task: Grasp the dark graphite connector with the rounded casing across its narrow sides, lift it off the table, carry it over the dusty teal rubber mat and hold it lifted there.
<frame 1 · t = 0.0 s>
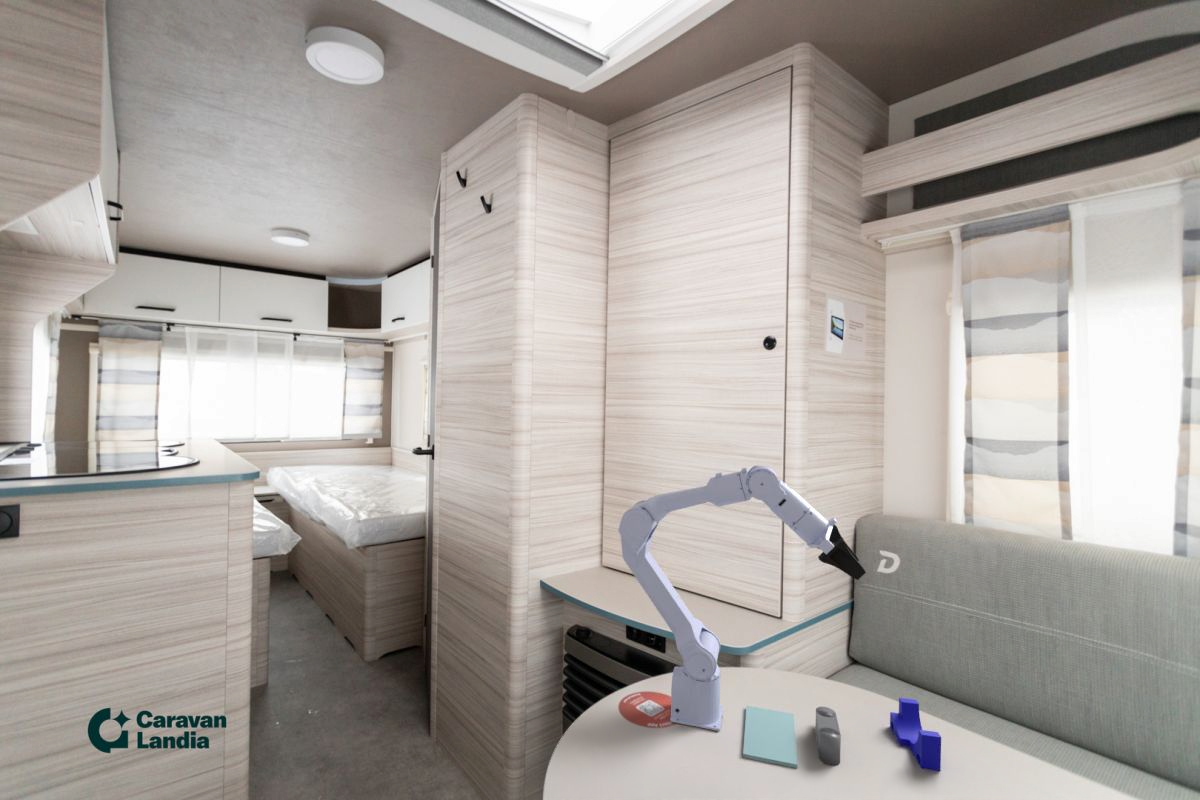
hand: (858, 569, 101), 32 cm above the table, tool tilted 50°, fingers open, 7 cm apart
rubber mat: (769, 735, 103), on the table
cable clip: (913, 749, 101), on the table
connector: (827, 746, 100), on the table
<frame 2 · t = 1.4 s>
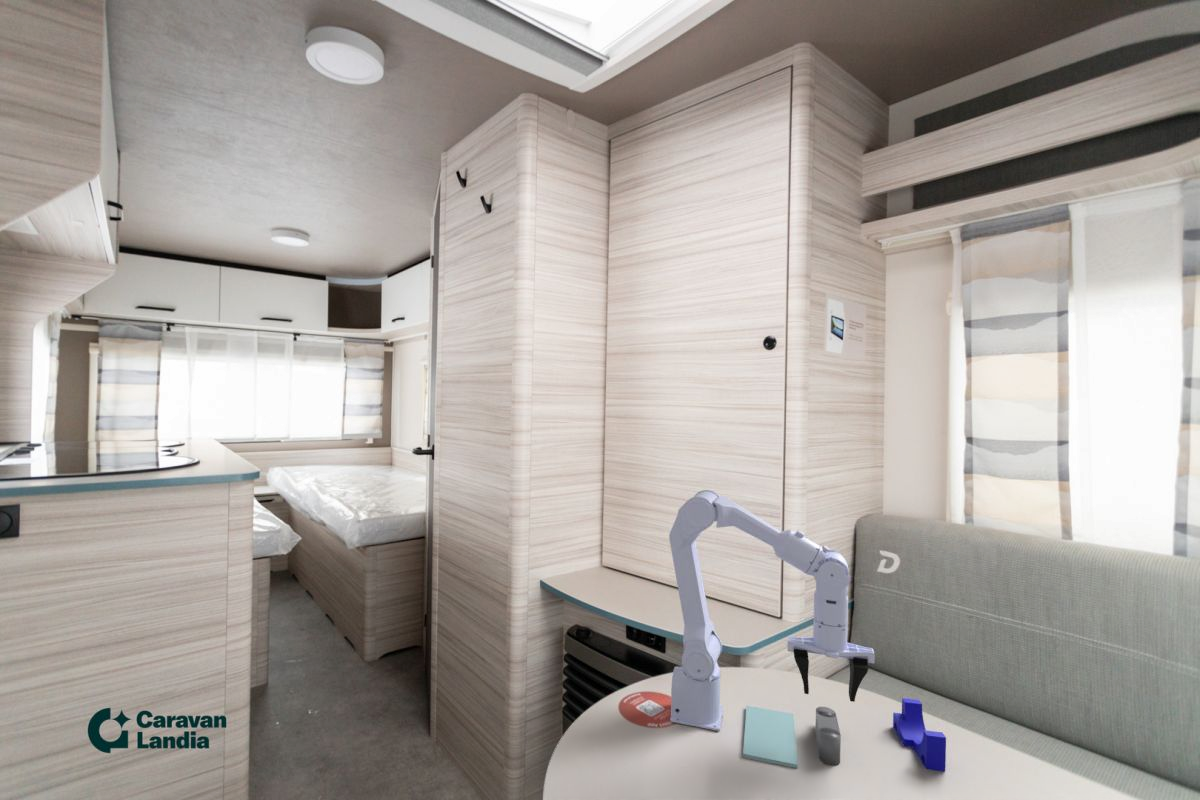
hand: (828, 694, 100), 9 cm above the table, tool pointing down, fingers open, 7 cm apart
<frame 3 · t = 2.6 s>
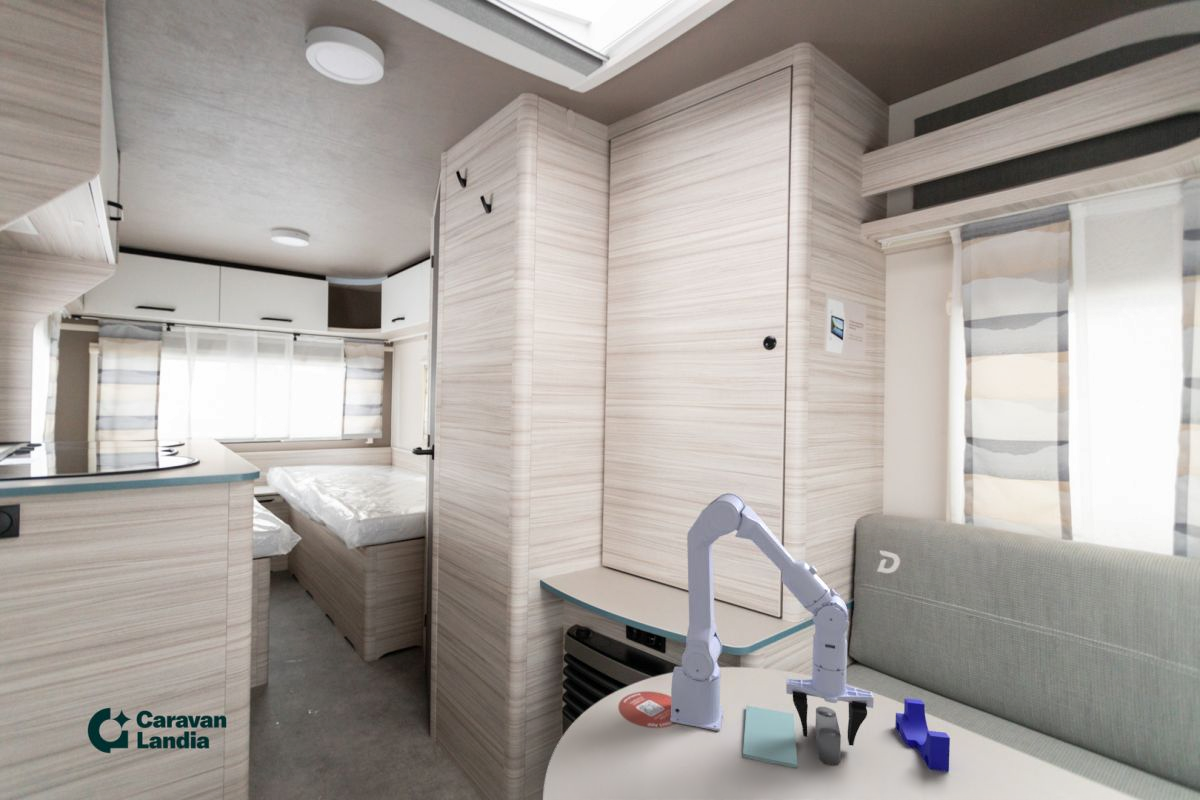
hand: (827, 737, 100), 2 cm above the table, tool pointing down, fingers open, 7 cm apart
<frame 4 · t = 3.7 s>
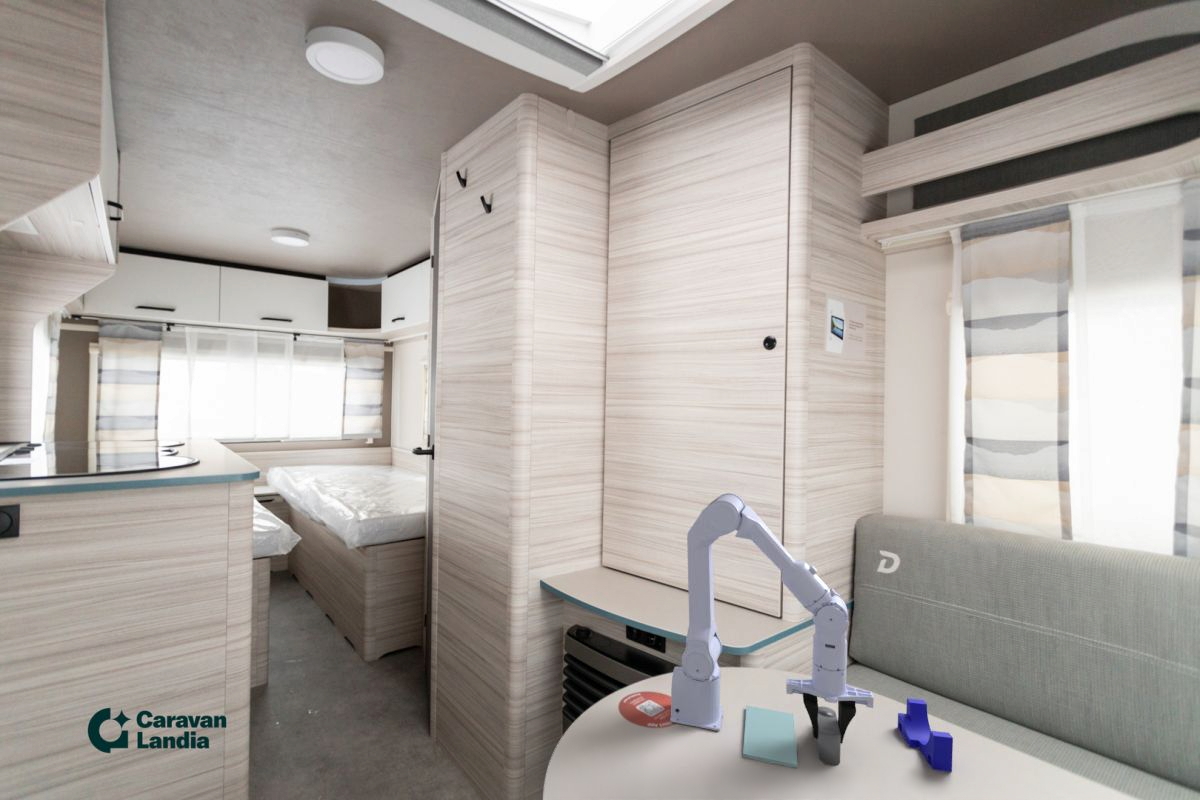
hand: (827, 737, 100), 2 cm above the table, tool pointing down, fingers closed on connector, 3 cm apart
connector: (827, 746, 100), on the table, touching gripper
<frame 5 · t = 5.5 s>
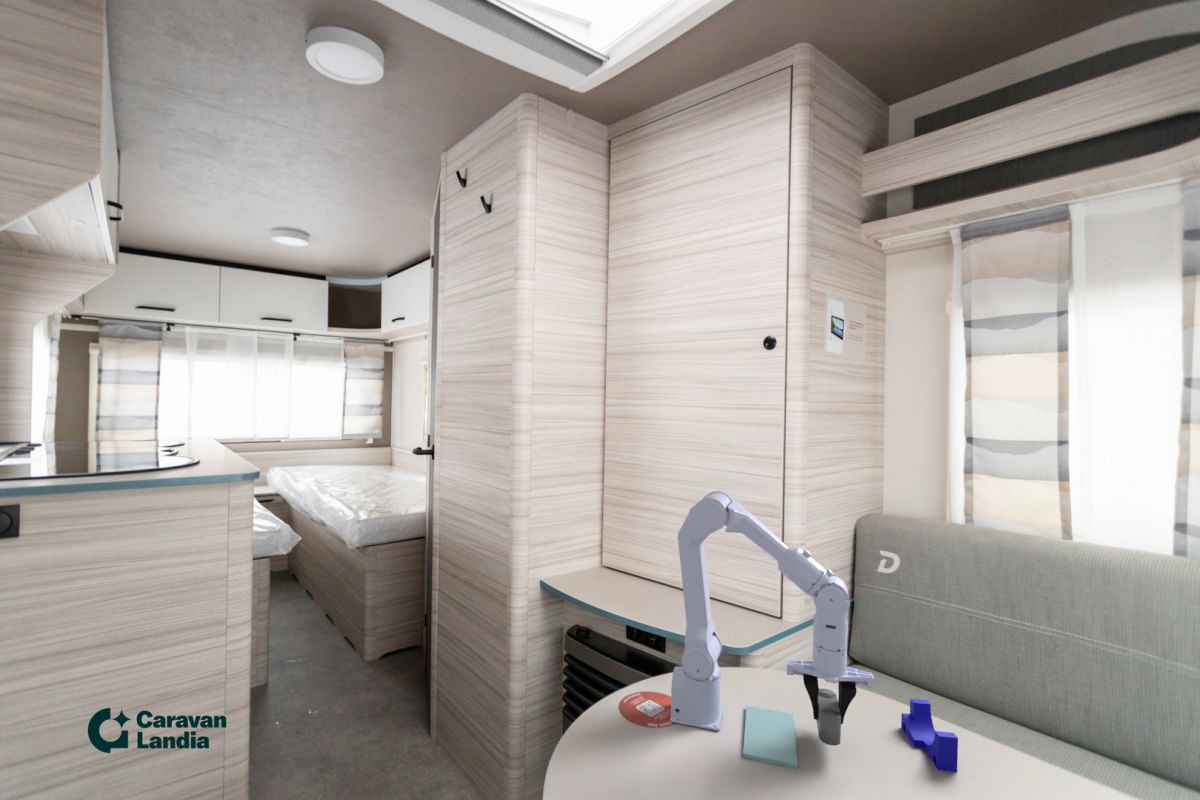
hand: (827, 718, 100), 5 cm above the table, tool pointing down, fingers closed on connector, 3 cm apart
connector: (827, 727, 100), point 3 cm above the table, touching gripper
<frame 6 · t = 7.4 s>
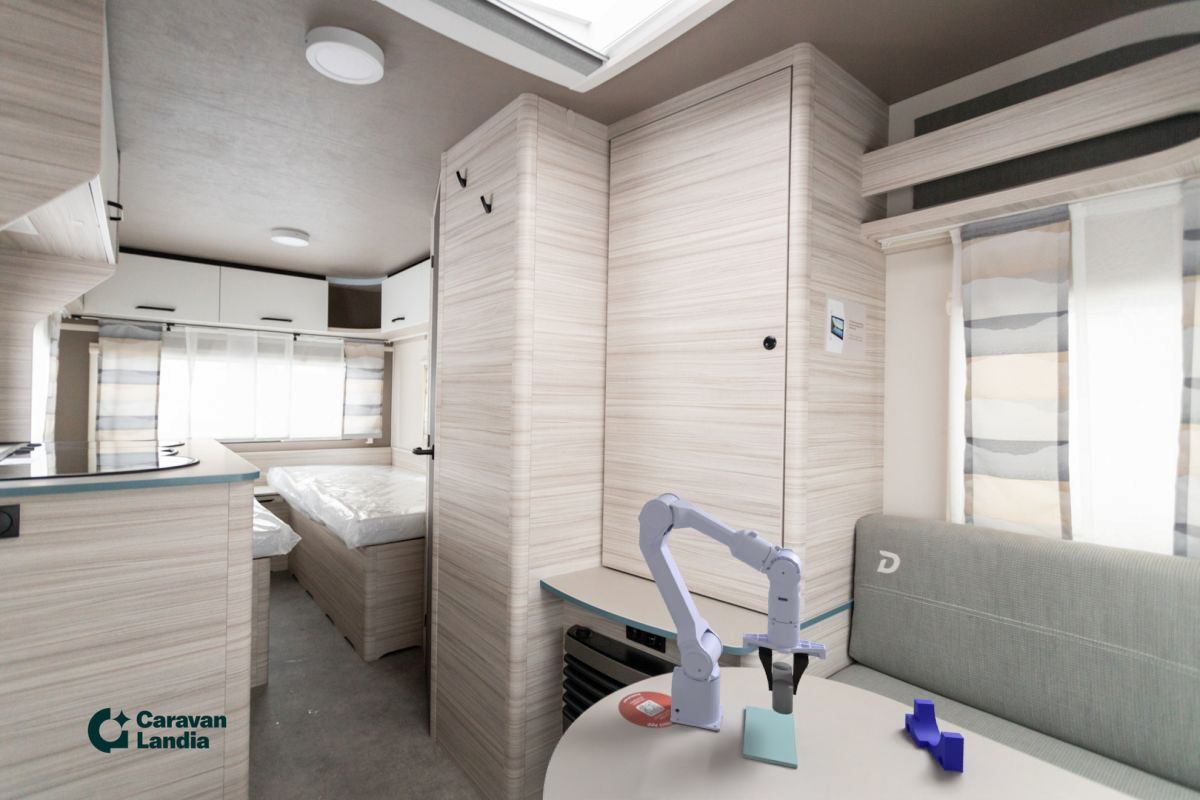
hand: (782, 690, 103), 9 cm above the table, tool pointing down, fingers closed on connector, 3 cm apart
connector: (781, 698, 103), point 7 cm above the table, touching gripper
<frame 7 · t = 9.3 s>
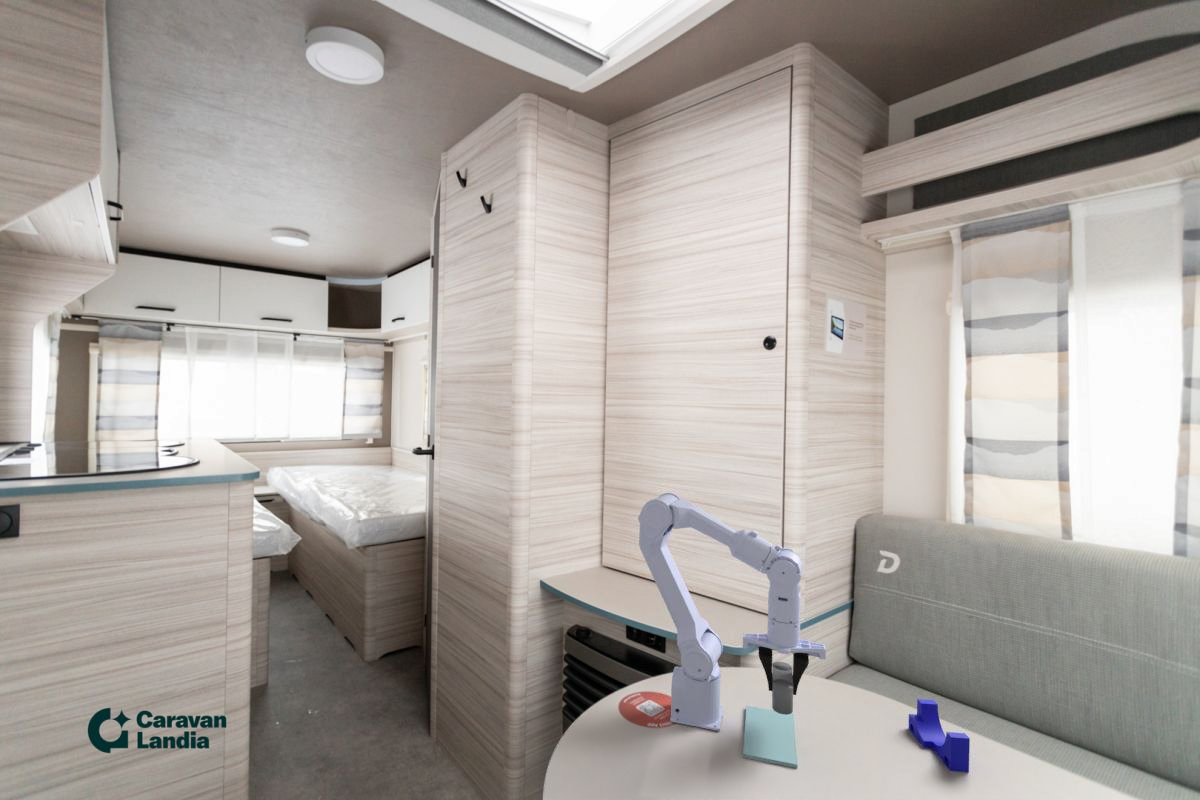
hand: (782, 690, 103), 9 cm above the table, tool pointing down, fingers closed on connector, 3 cm apart
connector: (781, 698, 103), point 7 cm above the table, touching gripper
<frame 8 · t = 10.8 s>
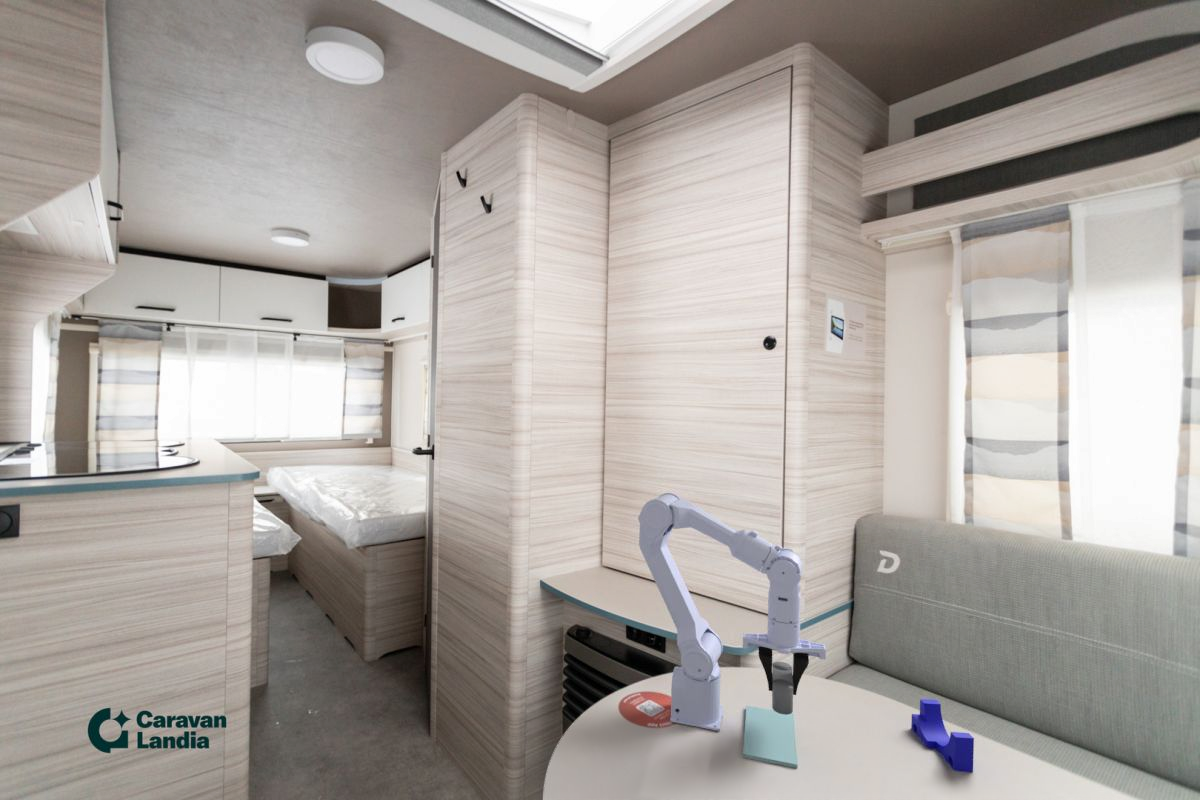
hand: (782, 690, 103), 9 cm above the table, tool pointing down, fingers closed on connector, 3 cm apart
connector: (781, 698, 103), point 7 cm above the table, touching gripper
at the end: the gripper is holding connector; connector point 7.3 cm above the table; connector 2.0 cm from the rubber mat (horizontally) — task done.
